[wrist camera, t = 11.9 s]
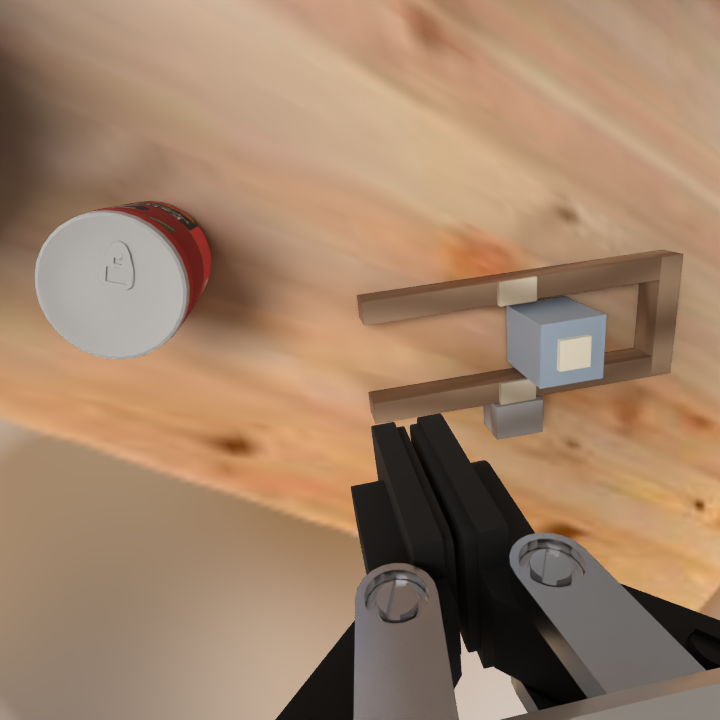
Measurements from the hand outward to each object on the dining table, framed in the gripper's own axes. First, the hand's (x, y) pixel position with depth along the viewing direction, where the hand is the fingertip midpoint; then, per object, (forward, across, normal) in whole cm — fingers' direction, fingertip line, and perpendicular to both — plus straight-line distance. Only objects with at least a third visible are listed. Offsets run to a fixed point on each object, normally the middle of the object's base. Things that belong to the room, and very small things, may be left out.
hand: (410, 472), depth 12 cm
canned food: (+29, +12, -1) cm, 31 cm away
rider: (+28, -17, +9) cm, 34 cm away
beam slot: (+28, -15, +11) cm, 34 cm away
